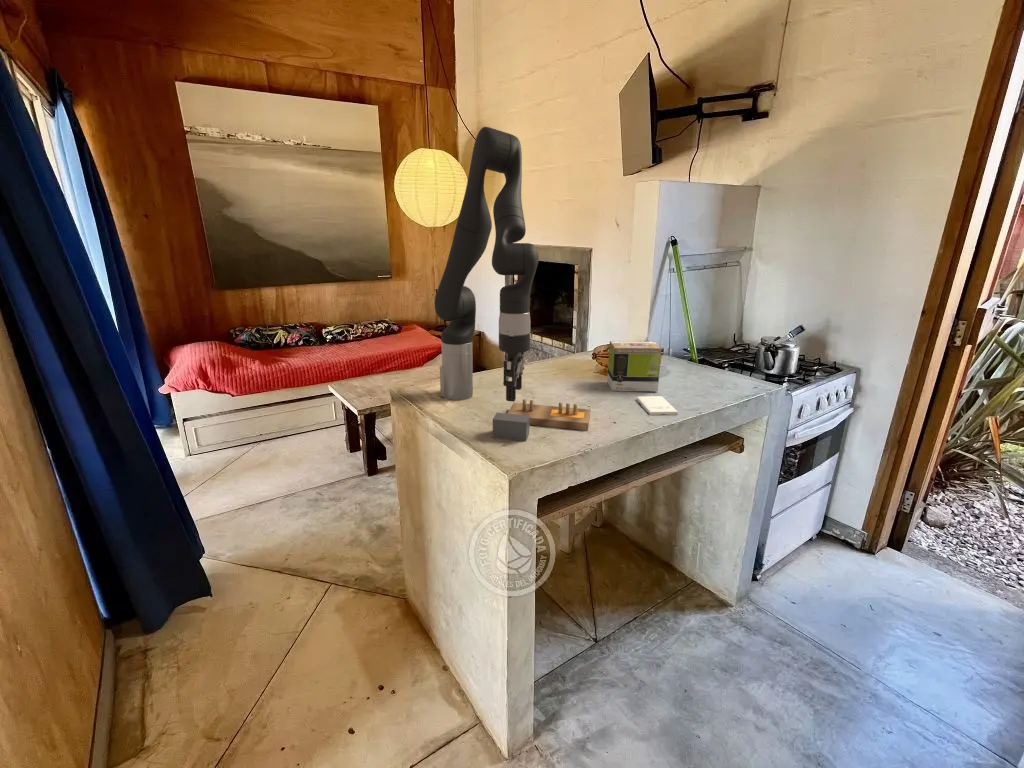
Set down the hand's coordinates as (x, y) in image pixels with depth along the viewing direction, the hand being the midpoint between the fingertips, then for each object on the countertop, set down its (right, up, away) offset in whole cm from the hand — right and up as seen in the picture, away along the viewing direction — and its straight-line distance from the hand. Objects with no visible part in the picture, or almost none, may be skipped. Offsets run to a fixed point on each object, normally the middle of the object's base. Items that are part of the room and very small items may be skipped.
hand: (514, 394), depth 122 cm
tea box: (+39, +2, +42) cm, 57 cm away
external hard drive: (+42, -5, +25) cm, 49 cm away
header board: (+10, -7, +14) cm, 18 cm away
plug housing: (-1, -10, +4) cm, 11 cm away
